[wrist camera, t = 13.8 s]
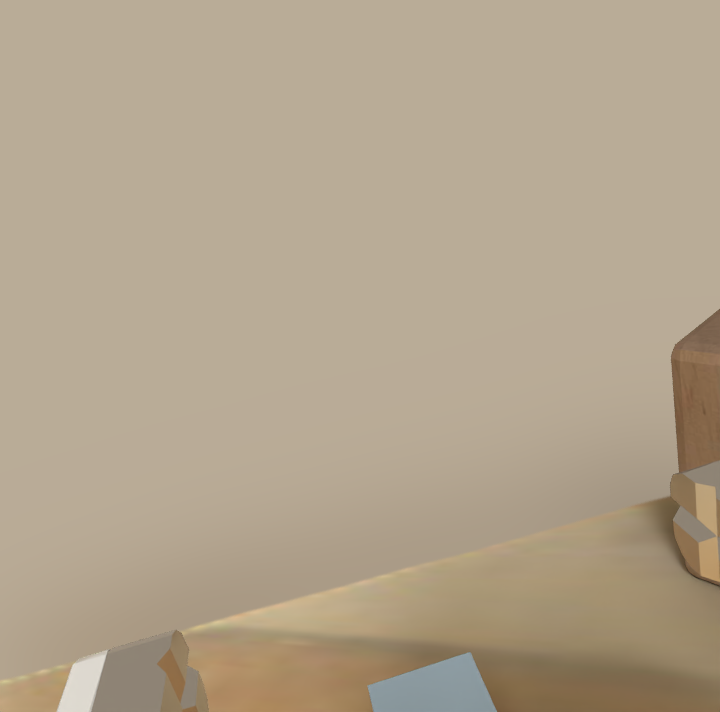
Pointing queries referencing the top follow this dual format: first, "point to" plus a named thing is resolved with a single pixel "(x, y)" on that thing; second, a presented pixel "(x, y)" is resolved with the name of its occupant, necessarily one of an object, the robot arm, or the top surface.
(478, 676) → the post
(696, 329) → the block
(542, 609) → the top surface
